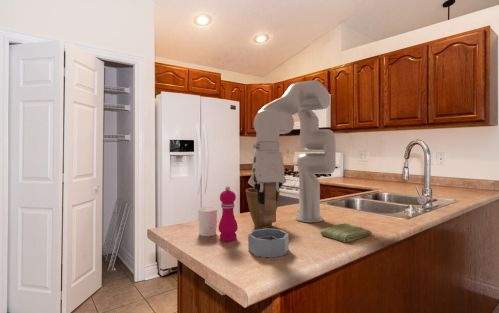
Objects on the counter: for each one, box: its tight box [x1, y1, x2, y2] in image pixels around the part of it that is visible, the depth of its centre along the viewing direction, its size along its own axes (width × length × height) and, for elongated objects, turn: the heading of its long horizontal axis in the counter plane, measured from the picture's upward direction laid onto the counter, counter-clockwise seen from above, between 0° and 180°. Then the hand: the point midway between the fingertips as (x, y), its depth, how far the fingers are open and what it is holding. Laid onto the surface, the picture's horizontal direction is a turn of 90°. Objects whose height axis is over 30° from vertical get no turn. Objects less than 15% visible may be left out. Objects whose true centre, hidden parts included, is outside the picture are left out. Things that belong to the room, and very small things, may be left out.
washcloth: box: [320, 223, 373, 244], centre depth 111 cm, size 13×18×3 cm
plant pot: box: [245, 187, 281, 229], centre depth 124 cm, size 15×15×16 cm
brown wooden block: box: [260, 182, 277, 224], centre depth 94 cm, size 4×4×15 cm
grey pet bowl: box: [247, 228, 290, 259], centre depth 94 cm, size 12×12×6 cm
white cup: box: [197, 206, 218, 237], centre depth 113 cm, size 8×8×10 cm
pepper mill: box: [218, 185, 239, 243], centre depth 106 cm, size 7×7×20 cm
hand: (267, 202), depth 94 cm, fingers closed on brown wooden block, 4 cm apart
